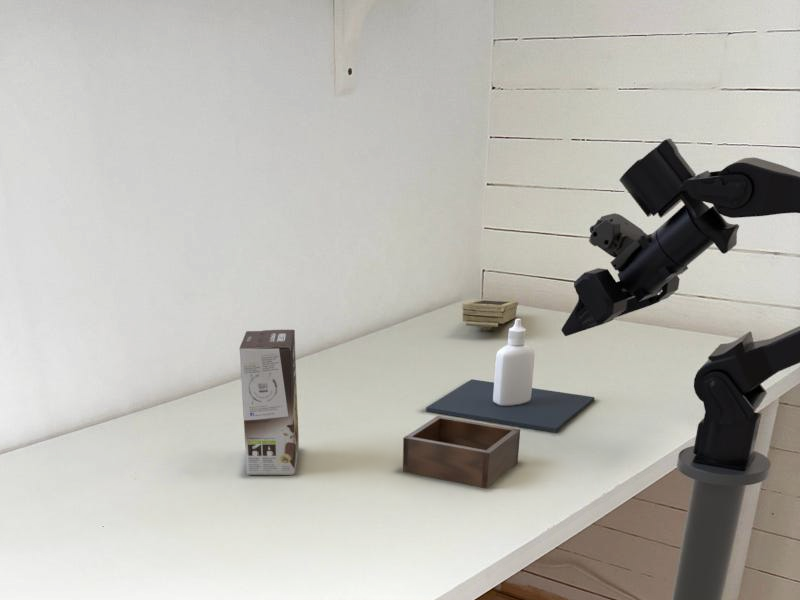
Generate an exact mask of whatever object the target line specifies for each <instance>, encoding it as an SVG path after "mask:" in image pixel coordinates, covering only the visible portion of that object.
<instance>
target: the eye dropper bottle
mask: <svg viewBox="0 0 800 600" xmlns="http://www.w3.org/2000/svg"><path fill="white" fill-rule="evenodd" d="M507 334H508V335H507V337H508V338H507V344H506V345H505V346H503V347H501V348H500V349H498V351H497V352H496V355H495V365H494V379H493V382H494V392H493V402H494V403H496V404H498V405H500V406H514V405H520V404H524V403H527V402H529V401H530V399H531V392H532V388H533V379H534V367H535V349H534V348H533V347H531V346H530V345H527V344H526V337H527V335H526V334H527V329H526V328H525V327H523V325H522V319H521V318H515V320H514V325H513V326H512V327H509V329H508V333H507Z"/></svg>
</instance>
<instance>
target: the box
mask: <svg viewBox="0 0 800 600" xmlns="http://www.w3.org/2000/svg"><path fill="white" fill-rule="evenodd" d="M518 306H519V301H516V300H515V301H514V300H499V299H476V300H471V301H468V302H464V303H462V307H461V308H462V322H465V326H468V327H480V328H482V330H483V331H492V329H493V328H499V324H505V323H507V322H509V321H511V320H514V319H516V316H517V309H518V308H517V307H518Z"/></svg>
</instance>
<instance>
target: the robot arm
mask: <svg viewBox="0 0 800 600" xmlns="http://www.w3.org/2000/svg"><path fill="white" fill-rule="evenodd" d="M619 182H620V183H621V185H622V186H623V187H624V189H625V190H626V191H627V192H628V194H629V195H630V196H631V198H632V199H633V200H634V201H635V203H636V204H637V206H639V208H640V209H641V211H643V213H644V214H645V215H646V217H648V218H649V217H651V216H652V217H655V216H656V215H658V217H659V218H660V219H663V217H665V216H666V215H667V214H669V212H671V211H672V210H673V209H674V208H676V207H677V206H678V205H679V204H680V203H681V202H682V203H683V204H684V205H682V206H681V207H680V208H679V209H678V210H677V211H675V213H674V214H673V215H671V216H670V217H669V218H668V219H667V220H666V221H665V222H664V223H663V224H661V225H660V226H659V227H658V228H657V229H656V230H654V231H653V232H652V233H650V234H647V233H646V232H644V230H643V229H642V228H641V227H639V226H638V225H636V224H634V222H632V221H630V220H629V219H628V218H626V217H624V216H622V214H619V213H616V212H615V213H610V214H605V215H602V216H600V218H599V219H597V221H596V222H595V224H594V225H591V226H590V227H589V233H590V235H589V239H588V242H589V244H591V245H592V246H593V247H597V248H599V249H600V250H602V251H603V252H605V253H606V254H607V255H609V256H611V257H613V258H614V259H612V260H611V261H610V262H609V263H610V265H611V266H612V268H613V269H614V270H615V271H617V272H618V273H617V278H618V281H616V279H615V278H614V277H613V275H612V273H611V272H610V270H609V269H608V268H601V267H597V268H594V269H590V270H588V271H585V272H583V273H582V274H581V275H580V276H579V277H578V278H576V280H575V281H573V287H574V289H575V292H576V295H577V297H578V300H577V302H576V304H575V306H574V308H573V310H572V311H571V313H570V315H569V316H568V318H567V319H566V321H565V323H564V324H563V326H562V328H561V329H560V330H561V333H562V334H563V335H564V337H568V336H571V335H574V334H577V333H580V332H583V331H586V330H589V329H592V328H595V327H598V326H602V325H605V324H607V323H609V322H612V321H614V320H615V318H618V317H622V316H624V315H627V314H630V313H633V312H636V311H639V310H642V309H644V308H647V307H650V306H653V305H656V304H659V303H660V302H662V301H663V300H667V299H668V298H669V297H671V296H672V295H673V294H674V293H675V292H677V291H678V290H679V286H680V281H681V279H680V278H679V276H680V275H682V274H684V273H685V272H686V271H687V270H688V269H689V267H688V265H690V264H691V263H692V262H693V261H695V260H696V259H697V258H698V257H699V256H701V255H702V254H703V253H704V252H706V251H707V250H708V249H709V248H710V247H711V246H713V245H715V246H716V247H717V249H718V251H719V252H720V253H722V254H727V253H728V252H730V251H731V250H732V249H733V248H734V247H736V246H737V243H738V242H737V241H738V230H739V228H740V225H739V224H737V223H735V224H732V223H730V222H728V221H726V219H725V218H724V217H726V218H730V219H739V218H753V217H754V218H755V217H766V216H773V215H781V214H782V215H783V214H800V171H798V170H795V169H793V168H790V167H788V166H785V165H783V164H779V163H776V162H773V161H768V160H765V159H763V158H758V157H753V156H752V157H745V158H741V159H739V160H737V161H734V162H733V163H731V164H728V165H727V166H725V167H724V168H723V169H721V170H715V171H714V170H713V171H709V170H704V171H703V172H701V173H698V174H696V173H695V171H694V170H693V169H692V167H691V166H690V165H689V163H688V162H687V161H686V159H685V158H684V157H683V156H682V154H681V153H680V150H679V149H678V146H677V145H676V143H675V142H674V141H673V139H672V138H666V139H663V140H662V142H660V143H659V144H658V145H657V146H655V147H654V148H653V149H652V150H650V151H649V152H648V153H647V154H646V155H645V156H643V157H642V158H640V159H637V160H636V161H635V162H633V164H632V165H631V166H630V167H629V168H628V169H627V170H626V171H625V172H624V173H623V174H622V176H620V178H619ZM706 203H707V204H711V205H713V206H710V207H709V206H708V205H707V204H706ZM797 364H800V325H799V326H797V327H795V328H792V329H790V330H788V331H785V332H783V333H781V334H779V335H777V336H774V337H772V338H768V339H761V340H756V341H755V340H754V337H753V333H752V331H748V332H746V333H745V334H743V335H742V336H740V337H739V338H737V339H736V340H734V341H731V342H728V343H719V345H718V346H717V347H716V348H715V350H713V351H712V352H711V354H710V355H709V356H708V357H707V361H706V362H704V364H703V365H702V366H701V367H700V368H699V369H698V370H697V372H696V374H695V375H694V379H693V389H694V393H695V395H696V397H697V399H699V400H700V401H701V402H702V403H703V407H704V416H703V418H702V419H701V420H700V421H699V422H698V424H697V430H696V433H695V440H694V445H693V446H694V451H693V453H694V454H697V455H696V456H695V457H694V459H693V463H697V464H703V465H709V466H715V467H721V468H727V469H732V470H738V471H746V469H747V468H748V466H749V465H750V463H751V462H752V460H753V459H754V457H755V455H756V453H755V452H754V451H755V447H756V442H757V438H758V434H759V428H760V423H761V418H762V413H761V412H756V410H758V408H759V407H760V405H761V404H762V402H763V400H764V399H765V398H766V396H767V394H768V393H767V390H766V388H764V386H763V385H762V384H763V383H764V382H766V381H768V379H770V378H771V377H773V376H774V375H776V374H777V373H780V372H782V371H784V370H786V369H789V368H791V367H793V366H796V365H797Z"/></svg>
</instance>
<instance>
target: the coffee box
mask: <svg viewBox="0 0 800 600" xmlns="http://www.w3.org/2000/svg"><path fill="white" fill-rule="evenodd" d="M295 333H296V331H295V329H264V330H246V331H245V333H244V336H243V339H242V341H241V344H240V345H239V357H240V358H239V359H240V381H241V395H242V412H243V413H242V414H243V415H242V416H243V431H244V446H245V464H246V475H249V476H252V475H255V476H256V475H258V476H259V475H263V476H265V475H271V476H273V475H274V476H276V475H278V476H281V475H284V476H292V475H295V474H296V468H297V463H298V457H299V452H300V442H299V439H300V438H299V414H298V413H299V411H298V391H297V388H298V387H297V363H296V361H297V359H296V337H295V336H296V334H295Z"/></svg>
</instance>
